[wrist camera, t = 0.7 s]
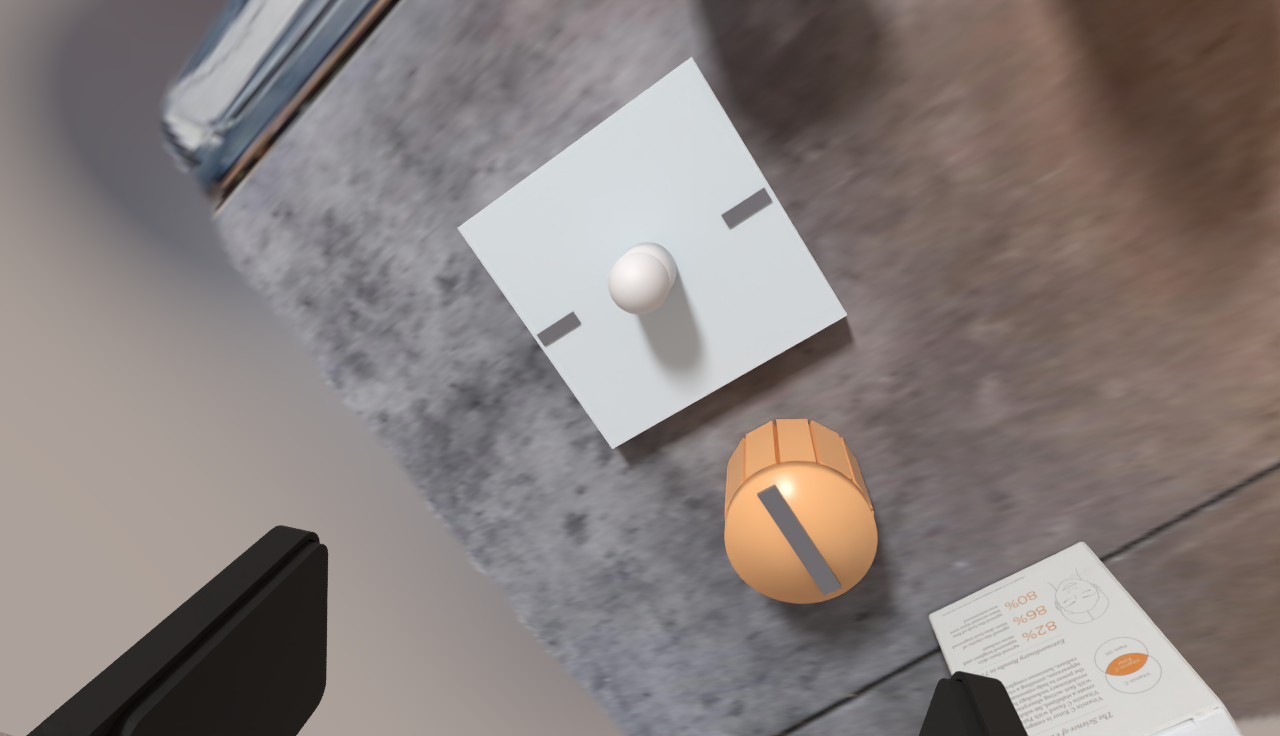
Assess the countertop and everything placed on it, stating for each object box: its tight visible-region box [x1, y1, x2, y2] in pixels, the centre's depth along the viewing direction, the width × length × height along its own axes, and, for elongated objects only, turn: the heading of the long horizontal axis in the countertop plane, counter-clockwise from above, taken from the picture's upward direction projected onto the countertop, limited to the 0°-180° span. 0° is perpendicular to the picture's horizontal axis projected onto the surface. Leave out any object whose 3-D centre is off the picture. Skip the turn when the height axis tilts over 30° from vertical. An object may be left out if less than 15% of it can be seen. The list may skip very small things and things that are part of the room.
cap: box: [725, 419, 878, 604], centre depth 31 cm, size 6×6×6 cm
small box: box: [929, 542, 1243, 736], centre depth 30 cm, size 8×6×10 cm
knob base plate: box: [458, 57, 847, 449], centre depth 29 cm, size 12×12×6 cm
